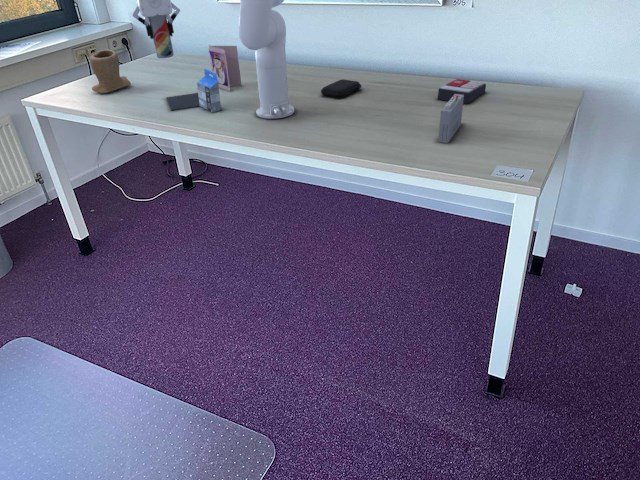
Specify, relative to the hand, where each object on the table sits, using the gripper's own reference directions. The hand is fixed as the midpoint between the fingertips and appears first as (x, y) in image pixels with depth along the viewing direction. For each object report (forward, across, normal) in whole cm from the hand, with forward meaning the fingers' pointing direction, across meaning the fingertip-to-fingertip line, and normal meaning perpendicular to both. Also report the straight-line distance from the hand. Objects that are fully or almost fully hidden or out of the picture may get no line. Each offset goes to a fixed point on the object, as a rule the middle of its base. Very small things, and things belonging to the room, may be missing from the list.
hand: (161, 36), depth 174 cm
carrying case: (+24, +58, -17) cm, 65 cm away
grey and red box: (+25, +92, -40) cm, 104 cm away
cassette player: (+25, +70, -68) cm, 101 cm away
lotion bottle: (+7, 0, 0) cm, 7 cm away
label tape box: (+23, +11, -11) cm, 28 cm away
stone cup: (+23, -20, +31) cm, 43 cm away
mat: (+23, +5, +1) cm, 24 cm away
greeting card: (+23, +22, +13) cm, 34 cm away
